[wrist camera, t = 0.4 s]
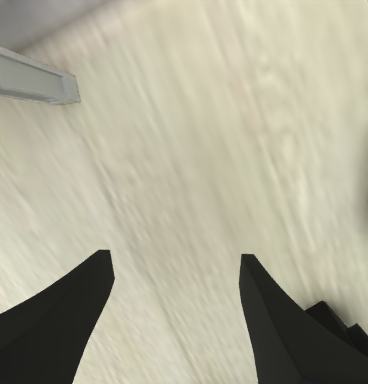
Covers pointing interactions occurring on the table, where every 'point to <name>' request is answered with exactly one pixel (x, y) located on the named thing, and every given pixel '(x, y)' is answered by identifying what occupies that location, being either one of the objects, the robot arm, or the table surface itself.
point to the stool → (35, 80)
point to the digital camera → (340, 327)
